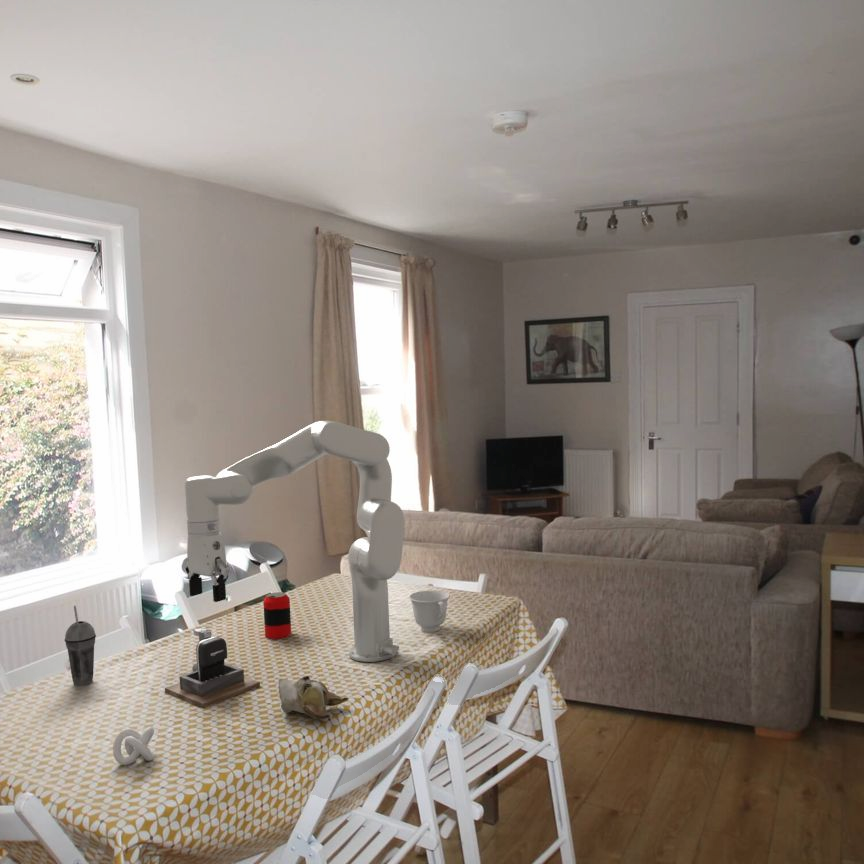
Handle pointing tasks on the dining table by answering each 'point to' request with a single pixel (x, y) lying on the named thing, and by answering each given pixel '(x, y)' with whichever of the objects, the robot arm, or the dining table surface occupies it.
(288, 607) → the soda can
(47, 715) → the dining table surface
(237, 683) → the holder
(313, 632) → the dining table surface
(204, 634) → the post
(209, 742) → the dining table surface
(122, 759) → the knot
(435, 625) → the teacup
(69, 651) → the beverage cup
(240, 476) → the robot arm
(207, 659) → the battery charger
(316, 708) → the ceramic sculpture
